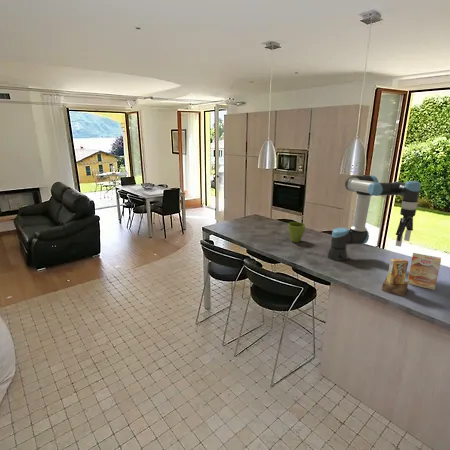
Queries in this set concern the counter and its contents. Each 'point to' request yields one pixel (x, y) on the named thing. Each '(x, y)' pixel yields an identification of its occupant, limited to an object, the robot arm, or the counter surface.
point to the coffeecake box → (424, 271)
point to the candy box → (397, 271)
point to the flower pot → (296, 231)
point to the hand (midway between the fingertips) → (402, 243)
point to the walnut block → (395, 288)
